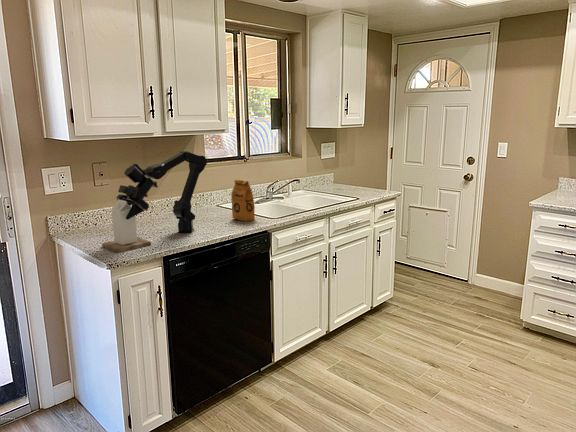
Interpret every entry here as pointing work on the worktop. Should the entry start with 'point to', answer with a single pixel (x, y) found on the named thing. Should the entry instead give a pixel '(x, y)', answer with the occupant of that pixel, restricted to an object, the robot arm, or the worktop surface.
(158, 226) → the worktop surface
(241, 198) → the coffee package
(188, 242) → the worktop surface
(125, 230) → the milk carton
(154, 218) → the worktop surface
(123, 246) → the cutting board
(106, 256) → the worktop surface
